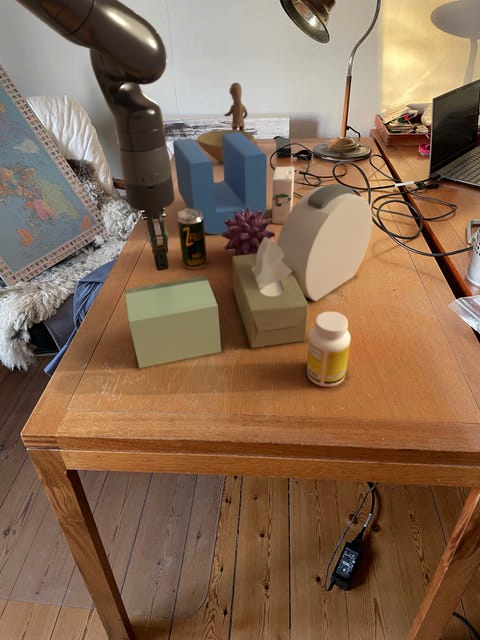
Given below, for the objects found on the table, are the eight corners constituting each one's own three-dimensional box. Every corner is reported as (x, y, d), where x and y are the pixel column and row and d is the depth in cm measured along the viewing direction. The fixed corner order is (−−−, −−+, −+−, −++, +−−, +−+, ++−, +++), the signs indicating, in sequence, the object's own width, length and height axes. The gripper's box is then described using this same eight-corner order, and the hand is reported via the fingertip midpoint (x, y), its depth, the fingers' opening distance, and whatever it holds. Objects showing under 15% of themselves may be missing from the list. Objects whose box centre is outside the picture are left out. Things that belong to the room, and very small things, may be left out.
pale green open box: (139, 368, 76) (128, 321, 70) (134, 334, 83) (124, 289, 77) (221, 352, 79) (217, 305, 72) (210, 320, 85) (206, 275, 79)
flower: (219, 272, 101) (229, 237, 109) (273, 274, 99) (279, 238, 106) (211, 231, 93) (222, 196, 100) (270, 232, 90) (277, 196, 98)
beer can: (180, 260, 103) (173, 211, 95) (202, 255, 104) (198, 206, 97) (187, 272, 99) (181, 221, 91) (210, 266, 100) (206, 216, 93)
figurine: (243, 139, 169) (241, 79, 157) (254, 144, 164) (254, 83, 152) (222, 144, 166) (219, 83, 153) (233, 149, 161) (231, 87, 148)
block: (243, 198, 128) (241, 131, 117) (266, 225, 115) (266, 153, 104) (180, 208, 124) (172, 140, 113) (196, 238, 111) (189, 164, 100)
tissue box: (306, 342, 80) (312, 264, 70) (251, 350, 79) (250, 272, 69) (279, 283, 94) (281, 212, 85) (233, 289, 93) (229, 218, 83)
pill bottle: (347, 365, 75) (356, 312, 68) (341, 392, 71) (350, 337, 64) (310, 357, 77) (315, 304, 70) (302, 383, 72) (306, 329, 65)
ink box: (274, 209, 122) (275, 165, 115) (292, 209, 122) (294, 165, 114) (271, 223, 115) (271, 178, 108) (291, 224, 115) (293, 178, 107)
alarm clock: (336, 256, 102) (348, 168, 90) (365, 268, 98) (382, 178, 86) (272, 294, 90) (277, 198, 78) (302, 310, 86) (311, 211, 74)
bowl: (252, 150, 159) (252, 126, 154) (256, 169, 145) (256, 144, 140) (199, 153, 159) (197, 129, 154) (198, 172, 145) (196, 147, 140)
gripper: (120, 162, 76) (138, 253, 87) (125, 193, 66) (145, 292, 76) (165, 157, 77) (177, 247, 88) (177, 186, 67) (189, 284, 78)
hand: (162, 268), depth 82 cm, fingers closed
